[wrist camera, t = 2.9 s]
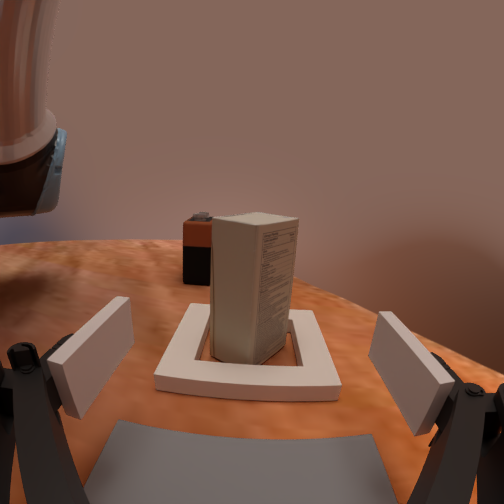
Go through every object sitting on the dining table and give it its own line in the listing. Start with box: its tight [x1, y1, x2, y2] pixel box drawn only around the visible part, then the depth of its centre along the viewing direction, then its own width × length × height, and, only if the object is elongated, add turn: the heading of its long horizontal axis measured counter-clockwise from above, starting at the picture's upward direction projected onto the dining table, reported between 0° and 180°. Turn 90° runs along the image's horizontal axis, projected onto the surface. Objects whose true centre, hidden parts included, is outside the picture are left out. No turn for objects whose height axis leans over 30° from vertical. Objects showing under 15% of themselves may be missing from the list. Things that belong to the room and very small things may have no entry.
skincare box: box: [210, 212, 299, 365], centre depth 24 cm, size 6×4×12 cm
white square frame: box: [154, 303, 342, 401], centre depth 26 cm, size 13×13×2 cm
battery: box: [183, 212, 213, 285], centre depth 44 cm, size 4×7×10 cm, turn 1°
